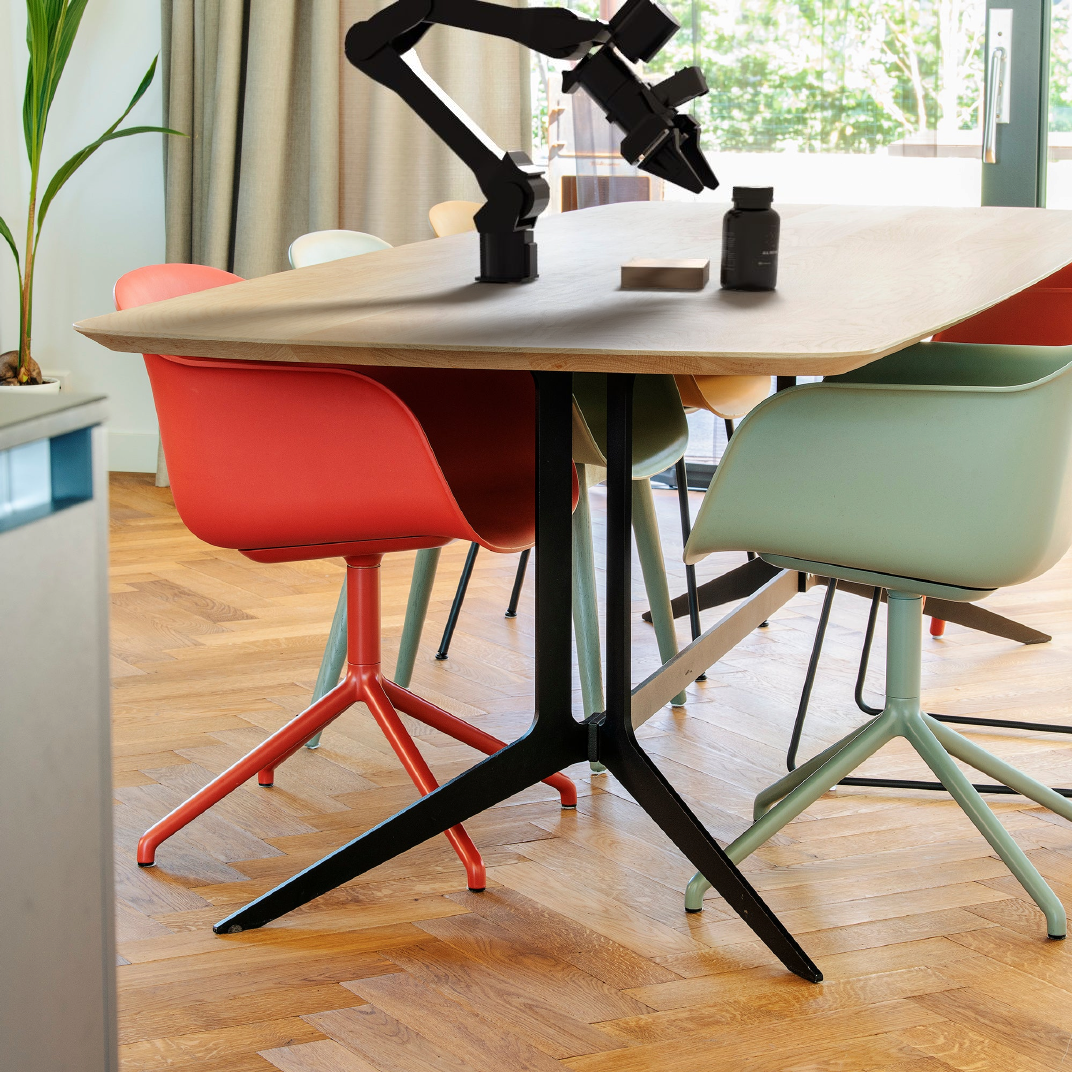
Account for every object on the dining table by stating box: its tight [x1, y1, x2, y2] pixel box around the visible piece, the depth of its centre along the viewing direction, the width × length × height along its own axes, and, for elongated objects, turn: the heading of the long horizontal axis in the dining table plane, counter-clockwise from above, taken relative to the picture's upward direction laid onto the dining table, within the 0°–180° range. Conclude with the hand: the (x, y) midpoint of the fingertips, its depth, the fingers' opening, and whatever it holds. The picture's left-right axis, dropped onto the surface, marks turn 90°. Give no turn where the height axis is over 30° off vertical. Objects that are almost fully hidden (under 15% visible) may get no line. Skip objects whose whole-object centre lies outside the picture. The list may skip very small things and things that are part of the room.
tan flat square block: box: [620, 257, 711, 290], centre depth 163 cm, size 10×10×2 cm
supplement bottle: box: [719, 185, 781, 292], centre depth 155 cm, size 7×7×12 cm
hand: (709, 189), depth 155 cm, fingers open, 9 cm apart
